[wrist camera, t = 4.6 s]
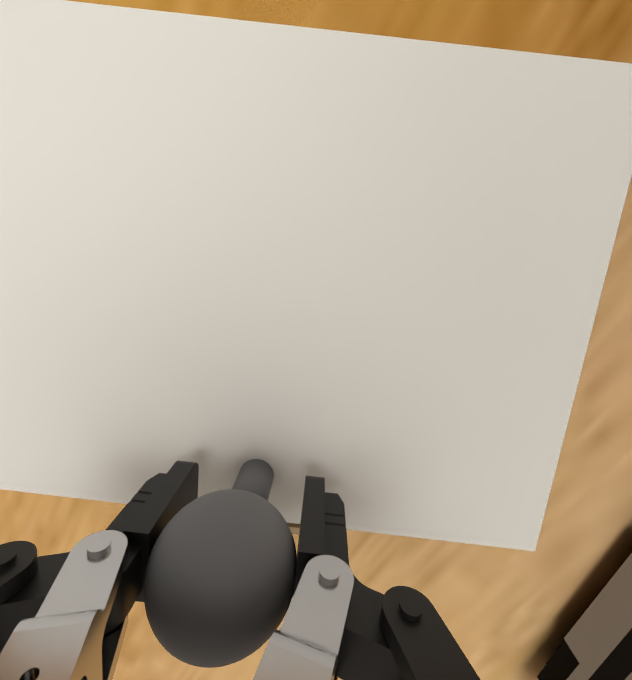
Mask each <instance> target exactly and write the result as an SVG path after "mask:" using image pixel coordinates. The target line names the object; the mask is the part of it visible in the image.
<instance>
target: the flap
mask: <svg viewBox="0 0 632 680" xmlns="http://www.w3.org/2000/svg"><path fill="white" fill-rule="evenodd" d="M631 175H632V64H631V63H622V62H613V61H604V60H595V59H586V58H577V57H568V56H559V55H550V54H541V53H532V52H523V51H514V50H505V49H496V48H487V47H478V46H469V45H460V44H451V43H442V42H433V41H424V40H415V39H406V38H397V37H388V36H379V35H370V34H361V33H352V32H343V31H334V30H325V29H316V28H307V27H298V26H289V25H280V24H271V23H262V22H253V21H245V20H236V19H227V18H218V17H209V16H200V15H191V14H182V13H173V12H164V11H155V10H146V9H137V8H128V7H119V6H110V5H101V4H92V3H83V2H74V1H65V0H0V489H4V490H12V491H21V492H29V493H38V494H47V495H55V496H64V497H72V498H81V499H90V500H98V501H107V502H115V503H124V504H128V502H129V501H131V499H132V498H133V496H134V495H135V494H136V493H138V490H139V489H140V488H141V487H142V486H143V484H144V483H145V482H146V481H147V480H149V479H150V478H152V477H154V476H155V475H157V474H158V473H165V474H167V472H168V471H169V470H170V469H171V467H172V466H173V465H174V463H175V462H176V461H187V462H196V463H198V465H199V476H198V498H196V499H195V500H193V501H192V502H190V503H189V504H187V505H186V506H184V507H183V508H182V509H181V510H180V511H179V512H178V513H177V514H175V515H174V516H173V518H172V519H171V520H170V521H169V522H168V523H167V525H166V526H165V527H164V529H163V530H162V532H161V534H160V535H159V537H158V539H157V541H156V542H155V544H154V547H153V549H152V551H151V554H150V557H149V560H148V564H147V567H146V573H145V579H144V603H145V609H146V614H147V618H148V621H149V623H150V626H151V628H152V631H153V633H154V635H155V636H156V638H157V639H158V641H159V642H160V643H161V644H162V646H163V647H164V648H165V649H166V650H167V651H168V652H169V653H170V654H171V655H173V656H174V657H176V658H177V659H179V660H181V661H183V662H185V663H188V664H190V665H194V666H198V667H207V668H212V667H221V666H225V665H229V664H232V663H235V662H237V661H240V660H242V659H244V658H245V657H247V656H249V655H250V654H252V653H253V652H255V651H256V650H257V649H259V648H260V647H261V646H262V645H263V644H264V643H265V642H266V641H267V640H268V639H269V638H270V637H271V636H272V634H273V632H274V631H275V630H276V629H277V627H278V626H279V625H280V623H281V621H282V620H283V618H284V616H285V614H286V612H287V610H288V608H289V605H290V602H291V599H292V596H293V593H294V586H295V576H296V567H297V555H296V548H295V543H294V539H293V536H292V534H299V530H300V521H301V512H302V503H303V495H304V486H305V477H306V475H307V476H316V477H324V478H325V492H328V493H337V494H338V495H339V496H340V498H341V499H342V501H343V503H344V507H345V520H346V529H348V530H356V531H365V532H373V533H382V534H391V535H399V536H408V537H416V538H425V539H434V540H442V541H451V542H459V543H468V544H477V545H485V546H494V547H502V548H511V549H519V550H528V551H535V549H536V545H537V541H538V537H539V534H540V530H541V526H542V522H543V518H544V514H545V510H546V506H547V502H548V498H549V495H550V491H551V487H552V483H553V479H554V475H555V471H556V467H557V463H558V460H559V456H560V452H561V448H562V444H563V440H564V436H565V432H566V428H567V425H568V421H569V417H570V413H571V409H572V405H573V401H574V397H575V393H576V390H577V386H578V382H579V378H580V374H581V370H582V366H583V362H584V358H585V354H586V351H587V347H588V343H589V339H590V335H591V331H592V327H593V323H594V319H595V316H596V312H597V308H598V304H599V300H600V296H601V292H602V288H603V284H604V281H605V277H606V273H607V269H608V265H609V261H610V257H611V253H612V249H613V246H614V242H615V238H616V234H617V230H618V226H619V222H620V218H621V214H622V210H623V207H624V203H625V199H626V195H627V191H628V187H629V183H630V179H631Z"/></svg>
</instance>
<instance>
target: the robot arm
mask: <svg viewBox="0 0 632 680" xmlns="http://www.w3.org/2000/svg"><path fill="white" fill-rule="evenodd" d="M198 476H199V465H198V463H196V462H187V461H176V462H175V463H174V465H173V466H172V467H171V469H170V470H169V471H168V472H167V474H165V473H158V474H157V475H155V476H154V477H152V478H150V479H149V480H147V481H146V482H145V483H144V484H143V486H142V487H141V488H140V489H139V490H138V493H136V494H135V495H134V496H133V498H132V499H131V501H129V502H128V504H127V505H126V506H125V507H124V508H123V510H122V511H121V512H120V513H119V514H118V516H117V517H116V518H115V519H114V521H113V522H112V523H111V524H110V525H109V527H108V528H107V529H106V530H105V531H100V532H96V533H93V534H91V535H89V536H87V537H85V538H83V539H82V540H81V541H79V542H78V543H77V544H76V545H75V546H74V547H73V548H72V550H71V551H70V552H67V553H61V554H54V555H47V556H40V557H37V549H36V546H35V545H34V544H33V543H31V542H27V541H14V542H9V543H5V544H2V545H0V680H112V679H113V675H114V672H115V668H116V665H117V661H118V657H119V654H120V650H121V646H122V643H123V639H124V636H125V632H126V628H127V625H128V613H129V611H130V610H131V608H132V606H133V604H134V602H135V601H140V602H144V579H145V573H146V567H147V564H148V560H149V557H150V554H151V551H152V549H153V547H154V544H155V542H156V541H157V539H158V537H159V535H160V534H161V532H162V530H163V529H164V527H165V526H166V525H167V523H168V522H169V521H170V520H171V519H172V518H173V516H174V515H175V514H177V513H178V512H179V511H180V510H181V509H182V508H183V507H184V506H186V505H187V504H189V503H190V502H192V501H193V500H195V499H196V498H198ZM338 677H339V678H341V679H343V680H480V678H479V677H478V675H477V674H476V672H475V670H474V669H473V667H472V666H471V664H470V663H469V661H468V660H467V658H466V656H465V655H464V653H463V652H462V650H461V649H460V647H459V645H458V644H457V642H456V641H455V639H454V638H453V636H452V634H451V633H450V631H449V630H448V628H447V627H446V625H445V623H444V622H443V620H442V619H441V617H440V616H439V614H438V613H437V611H436V609H435V608H434V606H433V605H432V603H431V602H430V601H429V600H428V599H427V598H426V597H425V596H424V595H423V594H422V593H420V592H419V591H417V590H415V589H413V588H410V587H406V586H396V587H392V588H391V589H389V590H388V591H387V592H386V593H385V595H383V594H381V593H379V592H377V591H374V590H372V589H370V588H368V587H366V586H365V585H363V584H362V583H361V582H359V581H358V580H357V578H356V577H355V576H354V575H353V573H352V570H351V569H350V566H349V560H348V546H347V533H346V520H345V507H344V503H343V501H342V499H341V498H340V496H339V495H338V494H337V493H328V492H325V478H324V477H316V476H307V475H306V477H305V486H304V495H303V503H302V512H301V521H300V530H299V540H298V550H297V567H296V576H295V586H294V593H293V599H292V601H291V604H290V606H289V609H288V611H287V614H286V616H285V619H284V621H283V624H282V626H281V628H280V630H279V631H278V630H275V631H274V632H273V634H272V636H271V638H270V640H269V643H268V645H267V647H266V650H265V652H264V654H263V657H262V659H261V662H260V664H259V666H258V669H257V671H256V674H255V676H254V678H253V680H338Z"/></svg>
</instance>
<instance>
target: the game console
mask: <svg viewBox="0 0 632 680" xmlns="http://www.w3.org/2000/svg"><path fill="white" fill-rule="evenodd" d="M564 640H565V641H564V642H563V643H562V644H561V646H560V647H559V648H558V649H557V651H556V652H555V653H554V654H553V656H552V657H551V658H550V660H549V661H548V662H547V663H546V666H545V667H544V668H543V670H542V671H541V672H540V673H539V675H538V676H537V677H538V679H539V680H632V553H631V554H630V555H629V557H628V558H627V559H626V561H625V562H624V563H623V564H622V566H621V567H620V568H619V569H618V571H617V572H616V573H615V574H614V576H613V577H612V578H611V579H610V581H609V582H608V583H607V584H606V586H605V587H604V588H603V590H602V591H601V592H600V593H599V595H598V596H597V597H596V598H595V600H594V601H593V602H592V603H591V605H590V606H589V607H588V608H587V610H586V611H585V612H584V614H583V615H582V616H581V617H580V619H579V620H578V621H577V622H576V624H575V625H574V626H573V627H572V629H571V630H570V631H569V632H568V634H567V635H566V636H565V637H564Z"/></svg>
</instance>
